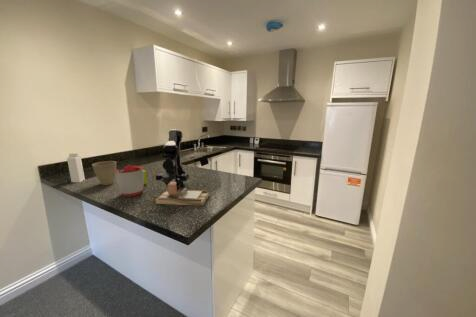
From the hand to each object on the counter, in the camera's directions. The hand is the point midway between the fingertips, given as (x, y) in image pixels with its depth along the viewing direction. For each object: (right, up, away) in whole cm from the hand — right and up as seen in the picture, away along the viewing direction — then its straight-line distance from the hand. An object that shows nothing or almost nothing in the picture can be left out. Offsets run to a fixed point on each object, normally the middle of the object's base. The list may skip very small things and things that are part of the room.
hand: (173, 190), depth 118 cm
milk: (-86, +1, +34) cm, 93 cm away
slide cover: (+11, -3, 0) cm, 11 cm away
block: (0, -1, 0) cm, 1 cm away
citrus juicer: (-31, -4, +10) cm, 33 cm away
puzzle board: (+6, -6, +1) cm, 8 cm away
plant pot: (-60, 0, +28) cm, 66 cm away
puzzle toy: (-37, 0, +28) cm, 46 cm away
